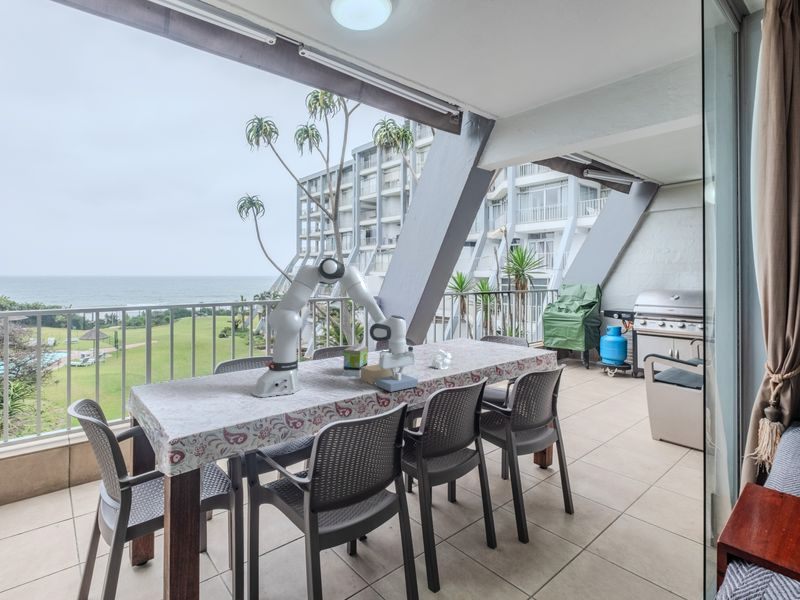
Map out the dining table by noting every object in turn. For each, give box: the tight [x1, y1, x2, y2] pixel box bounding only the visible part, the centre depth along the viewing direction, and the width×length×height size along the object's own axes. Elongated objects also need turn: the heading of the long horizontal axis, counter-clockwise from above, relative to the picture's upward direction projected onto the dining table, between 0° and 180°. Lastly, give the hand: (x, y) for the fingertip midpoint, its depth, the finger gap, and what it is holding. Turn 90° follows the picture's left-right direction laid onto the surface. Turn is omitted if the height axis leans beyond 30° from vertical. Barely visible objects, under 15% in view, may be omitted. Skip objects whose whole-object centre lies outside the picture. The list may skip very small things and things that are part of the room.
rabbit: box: [431, 349, 452, 370], centre depth 239 cm, size 12×9×12 cm
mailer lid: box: [375, 371, 419, 392], centre depth 197 cm, size 17×13×6 cm
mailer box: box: [360, 363, 397, 385], centre depth 211 cm, size 15×11×7 cm
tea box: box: [342, 345, 369, 377], centre depth 225 cm, size 15×10×15 cm, turn 168°
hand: (397, 375), depth 197 cm, fingers closed
